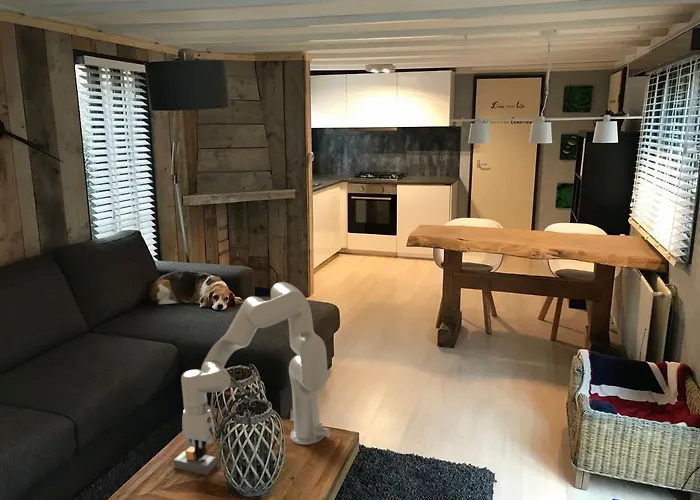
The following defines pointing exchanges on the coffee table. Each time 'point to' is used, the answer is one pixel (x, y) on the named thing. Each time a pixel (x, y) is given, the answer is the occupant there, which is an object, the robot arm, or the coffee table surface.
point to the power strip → (195, 463)
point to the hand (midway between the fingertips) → (200, 456)
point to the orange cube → (190, 453)
